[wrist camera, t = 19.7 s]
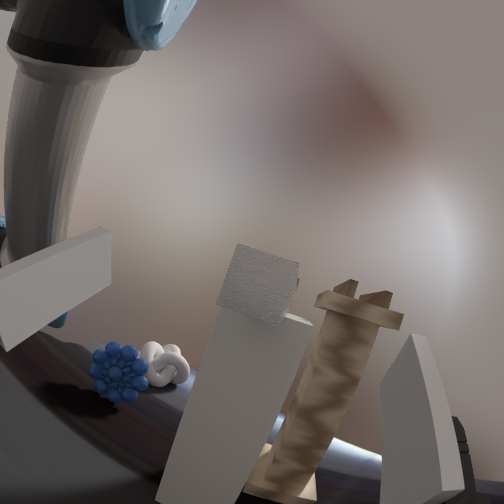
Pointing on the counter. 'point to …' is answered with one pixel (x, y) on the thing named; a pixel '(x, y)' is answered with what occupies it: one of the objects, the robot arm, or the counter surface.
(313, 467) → the stand
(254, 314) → the steel bar
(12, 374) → the counter surface
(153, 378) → the white twisted tube knot
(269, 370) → the block
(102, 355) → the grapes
